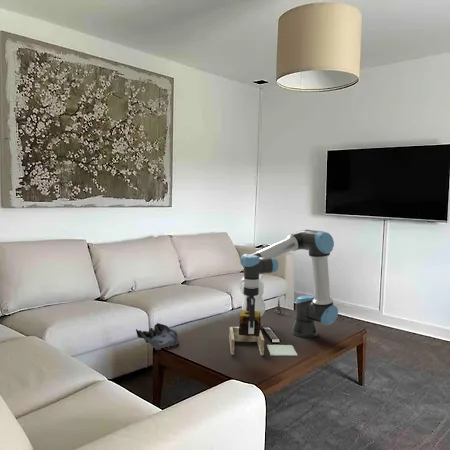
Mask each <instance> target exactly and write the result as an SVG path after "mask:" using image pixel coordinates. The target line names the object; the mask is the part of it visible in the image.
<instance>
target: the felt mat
mask: <svg viewBox="0 0 450 450" xmlns="http://www.w3.org/2000/svg"><path fill="white" fill-rule="evenodd" d="M266 347H267V349H268V353H269V355H270V356H271V357H274V356H276V357H298V353H297V352H296V349H295V348H294V346H293V345H292V344H266Z"/></svg>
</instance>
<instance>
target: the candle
mask: <svg viewBox="0 0 450 450" xmlns="http://www.w3.org/2000/svg"><path fill="white" fill-rule="evenodd" d="M260 314H261V312H259V311H255V321H254V334H248V327H249V321H248V319H249V311H244V310H242V309H241V312H240V314H239V315H238V317H239V322H238V323H239V325H238V327H239V335H245V336H257V337H258V336H259V334H260V330H261V328H262V326H261V325H262V324H261V317H260ZM261 331H262V330H261Z"/></svg>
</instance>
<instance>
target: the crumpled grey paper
mask: <svg viewBox="0 0 450 450" xmlns="http://www.w3.org/2000/svg"><path fill="white" fill-rule="evenodd" d="M135 331H136V336H137V338H138V339H144V342H146V344H148V343H149V344H150V345H151V346H152V347H153V348H154V350H155V351H159V350H162V349H161V348H163V347H168V348H170V347H169V346H172V347H173V346H175V345H176V343H177V344H178V345H180V339H179V338H180V337H179V335H178V333H177V330H175V329H171V328H170V327H168V325H166V324H162V323H159V322H157V323H156V324H155V325H154V326H153V328H152V327H150V328H149V330H148V331H146V330H143V331H142V330H138V329H137V328H136V329H135Z"/></svg>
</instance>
